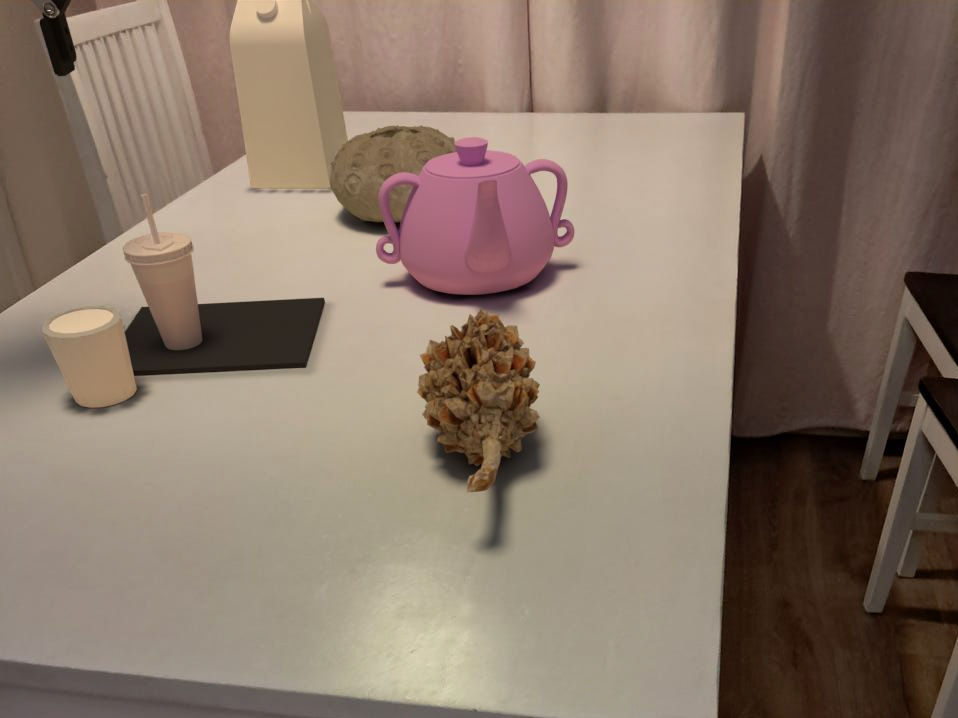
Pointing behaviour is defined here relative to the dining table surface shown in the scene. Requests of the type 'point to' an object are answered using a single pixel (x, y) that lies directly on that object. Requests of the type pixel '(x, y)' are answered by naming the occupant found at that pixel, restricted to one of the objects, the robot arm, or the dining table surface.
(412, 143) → the decorative shell
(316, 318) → the mat
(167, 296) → the smoothie
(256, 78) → the milk
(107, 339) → the cream candle
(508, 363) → the pine cone
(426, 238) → the teapot
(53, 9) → the robot arm
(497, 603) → the dining table surface
